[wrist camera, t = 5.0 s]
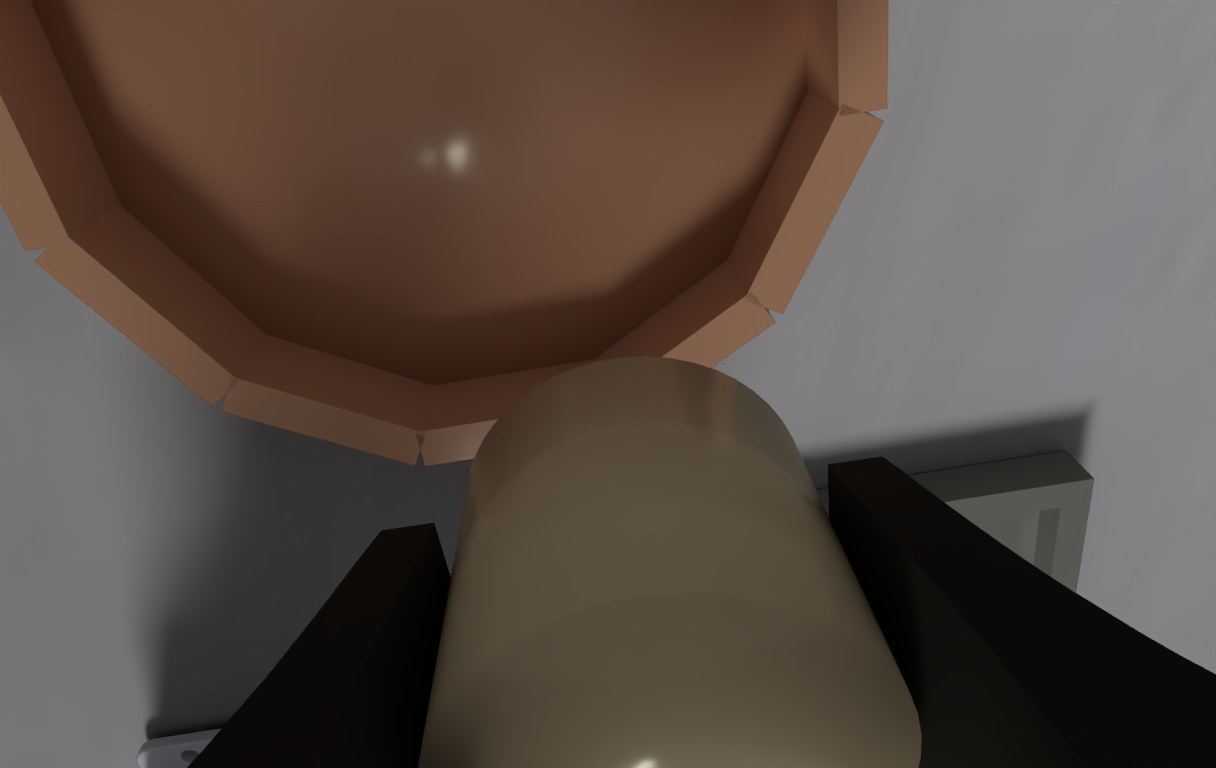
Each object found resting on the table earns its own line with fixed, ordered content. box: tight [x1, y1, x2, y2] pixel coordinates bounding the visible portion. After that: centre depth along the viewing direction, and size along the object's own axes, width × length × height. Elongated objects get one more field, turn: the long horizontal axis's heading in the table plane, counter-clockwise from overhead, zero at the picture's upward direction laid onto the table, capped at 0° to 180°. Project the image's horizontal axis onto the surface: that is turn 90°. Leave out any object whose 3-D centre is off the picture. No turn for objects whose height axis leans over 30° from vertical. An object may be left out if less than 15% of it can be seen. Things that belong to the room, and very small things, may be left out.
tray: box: [817, 451, 1094, 593], centre depth 22 cm, size 11×11×1 cm
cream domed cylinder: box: [418, 356, 922, 768], centre depth 9 cm, size 4×4×4 cm
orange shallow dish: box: [0, 0, 888, 466], centre depth 14 cm, size 15×15×2 cm
